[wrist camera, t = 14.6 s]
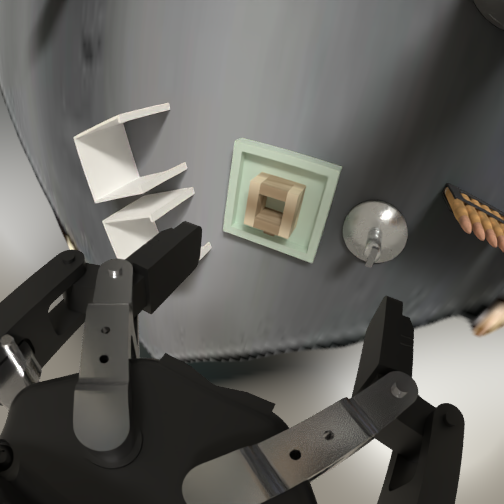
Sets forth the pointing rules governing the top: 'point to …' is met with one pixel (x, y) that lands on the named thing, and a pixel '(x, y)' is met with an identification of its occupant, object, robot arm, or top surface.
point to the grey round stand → (375, 231)
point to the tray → (291, 168)
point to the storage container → (127, 183)
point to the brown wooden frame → (270, 218)
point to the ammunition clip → (476, 215)
